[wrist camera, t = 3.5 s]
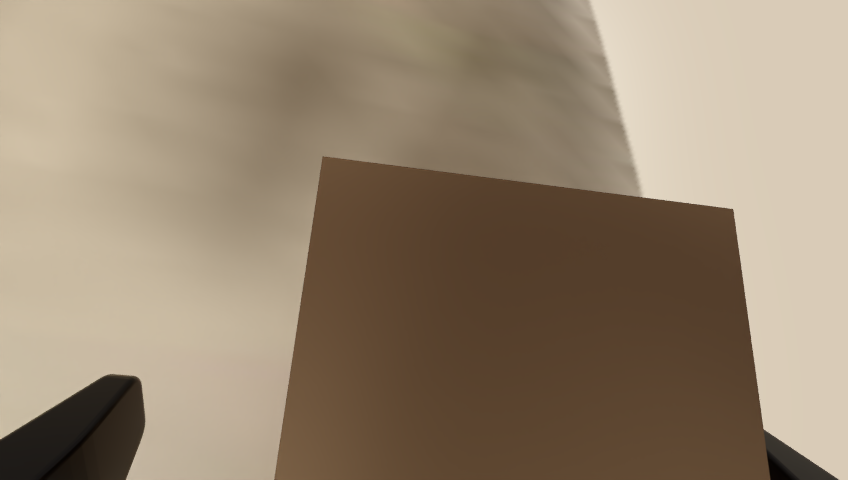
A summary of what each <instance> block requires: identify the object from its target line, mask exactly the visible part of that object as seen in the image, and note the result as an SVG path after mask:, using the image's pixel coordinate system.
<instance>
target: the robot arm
mask: <svg viewBox="0 0 848 480" xmlns="http://www.w3.org/2000/svg"><path fill="white" fill-rule="evenodd" d="M144 428H145V411H144V402H143V393H142V385H141V381H140V379H139V378H138V377H136V376H129V375H116V374H110V375H106V376H103V377H102V378H100V379H98V380H97V381H95V382H93V383H92V384H90V385H88V386H87V387H85V388H84V389H82V390H80V391H79V392H77V393H75V394H74V395H72V396H71V397H69V398H67V399H66V400H64V401H62V402H61V403H59V404H58V405H56V406H54V407H53V408H51V409H49V410H48V411H46V412H44V413H43V414H41V415H40V416H38V417H36V418H35V419H33V420H31V421H30V422H28V423H27V424H25V425H23V426H22V427H20V428H18V429H17V430H15V431H14V432H12V433H10V434H9V435H7V436H5V437H4V438H2V439H0V480H126V478H127V475H128V472H129V470H130V467H131V465H132V462H133V459H134V457H135V454H136V452H137V449H138V446H139V444H140V441H141V439H142V436H143V432H144ZM763 430H764V429H763ZM764 437H765V444H766V452H767V459H768V466H769V473H770V480H838V479H837V478H835V477H834V476H832V475H831V474H829V473H828V472H826V471H825V470H823V469H822V468H820V467H819V466H817V465H816V464H814V463H813V462H811V461H810V460H809V459H807V458H805V457H804V456H803V455H801V454H799V453H798V452H796V451H795V450H793V449H792V448H791V447H789V446H788V445H786V444H784V443H783V442H782V441H780V440H778V439H777V438H776V437H774V436H772V435H771V434H770V433H768V432H766V431H765V430H764Z"/></svg>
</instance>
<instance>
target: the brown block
mask: <svg viewBox="0 0 848 480" xmlns="http://www.w3.org/2000/svg"><path fill="white" fill-rule="evenodd" d="M274 480H770V473H769V466H768V459H767V452H766V444H765V437H764V430H763V423H762V416H761V408H760V401H759V394H758V386H757V379H756V372H755V364H754V357H753V350H752V344H751V335H750V328H749V321H748V314H747V307H746V299H745V292H744V284H743V277H742V270H741V263H740V255H739V248H738V242H737V234H736V226H735V219H734V212H733V209H727V208H719V207H712V206H704V205H697V204H689V203H681V202H673V201H665V200H658V199H650V198H642V197H634V196H626V195H619V194H611V193H603V192H595V191H588V190H580V189H572V188H564V187H556V186H549V185H541V184H533V183H525V182H517V181H510V180H502V179H494V178H486V177H478V176H471V175H463V174H455V173H447V172H439V171H432V170H424V169H416V168H408V167H401V166H393V165H385V164H377V163H369V162H362V161H354V160H346V159H338V158H330V157H323V158H322V165H321V172H320V178H319V185H318V192H317V198H316V205H315V212H314V218H313V225H312V232H311V238H310V245H309V252H308V258H307V265H306V272H305V278H304V285H303V292H302V298H301V305H300V312H299V318H298V325H297V332H296V338H295V345H294V352H293V359H292V365H291V372H290V379H289V385H288V392H287V399H286V405H285V412H284V419H283V425H282V432H281V439H280V445H279V452H278V459H277V465H276V472H275V479H274Z"/></svg>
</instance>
